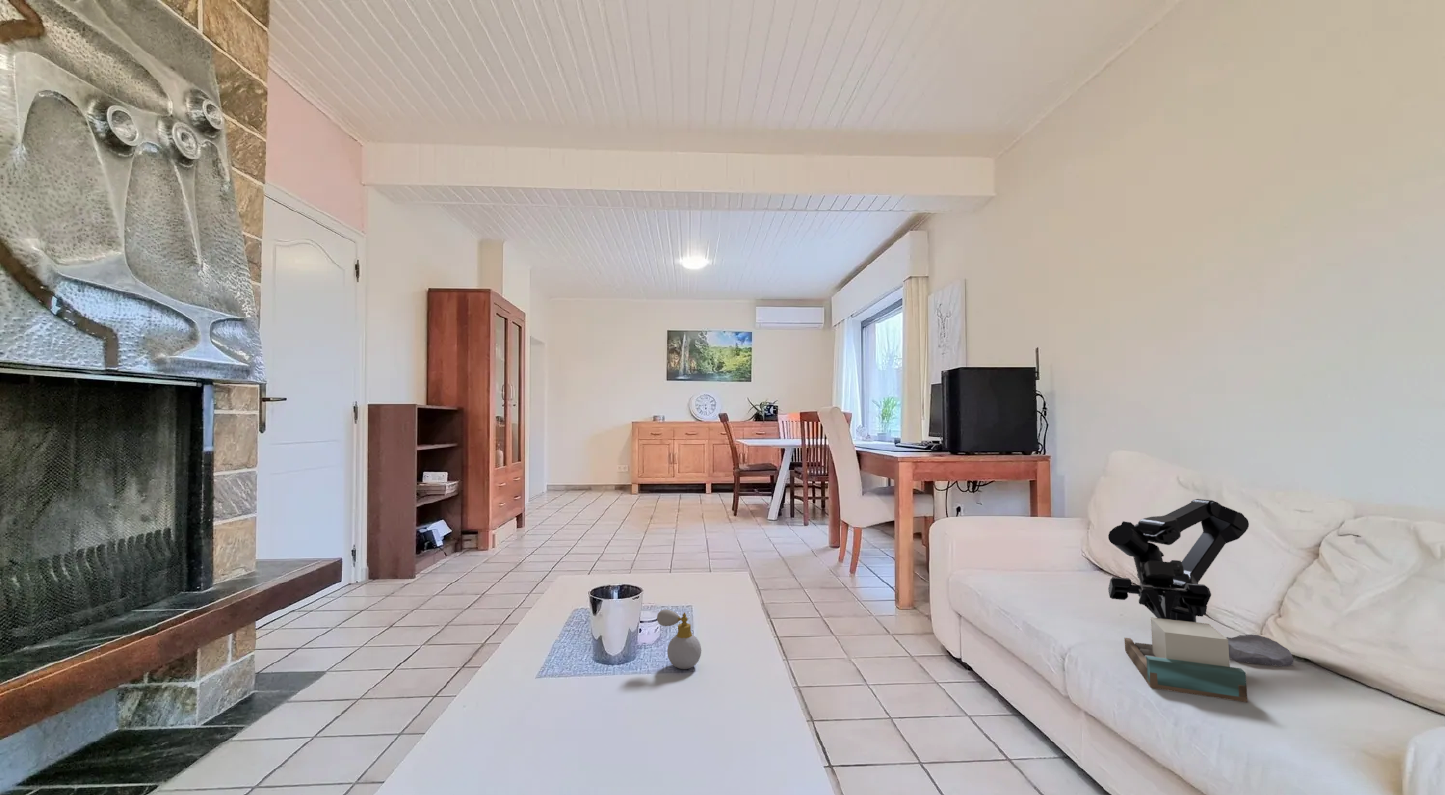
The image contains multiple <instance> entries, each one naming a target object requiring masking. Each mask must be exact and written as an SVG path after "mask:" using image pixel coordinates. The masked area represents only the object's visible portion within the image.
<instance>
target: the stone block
mask: <svg viewBox="0 0 1445 795" xmlns="http://www.w3.org/2000/svg"><path fill="white" fill-rule="evenodd" d="M1225 637H1226V636H1225ZM1226 638H1227V639H1228V646H1229V660H1230V659H1231V660H1233V661H1234V660H1235V662H1239V661H1240V662H1241V663H1247V662H1249V663H1248V664H1257V663H1259V664H1258V665H1267V666H1274V665H1277V666H1276V667H1288V666H1289V667H1290V666H1293V665H1294V658H1293V654H1292V652H1291V651H1290V650H1289V649H1288V648H1287V647H1285V646H1283V645H1282V644H1280V643H1279V642H1278V641H1275V640H1273V639H1271V638H1269V637H1267V636H1263V635H1259V634H1243V635H1241V634H1239V635H1237V636H1234V637H1228V636H1227V637H1226ZM1240 662H1239V663H1240Z"/></svg>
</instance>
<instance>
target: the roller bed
mask: <svg viewBox="0 0 1445 795" xmlns="http://www.w3.org/2000/svg"><path fill="white" fill-rule="evenodd" d="M1124 650H1125V653H1126V655H1128V657H1129V659H1130V660H1131V661H1132V664H1134V666H1135V668H1137V670H1138V671H1139V673H1140V675H1141V676H1142V677H1143V679H1144V680H1145V682H1146V684H1148V686H1149V687H1150V689H1158V690H1163V691H1169V692H1170V691H1171V692H1176V693H1177V692H1178V693H1183V694H1190V695H1196V696H1197V695H1198V696H1203V697H1211V698H1216V699H1225V700H1229V701H1230V700H1231V701H1237V702H1243V703H1248V690H1247V689H1248V688H1247V674H1246V671H1245V670H1243V669H1242V668H1241V667H1233V666H1230V667H1227V666H1219V665H1211V664H1204V663H1196V662H1189V661H1181V660H1173V659H1166V658H1158V657H1156V656H1155V655H1154V654H1153V649H1152V643H1151V644H1149V643H1142V642H1134V641H1133V640H1132V638H1131V637H1124Z"/></svg>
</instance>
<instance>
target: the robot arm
mask: <svg viewBox="0 0 1445 795" xmlns="http://www.w3.org/2000/svg"><path fill="white" fill-rule="evenodd" d="M1199 523H1200V524H1201V528H1202V533H1201V534H1200V536H1199V537H1198V538H1197V540H1196V541H1195V543H1194V544H1193V545H1192V547H1191V548H1190V550H1189V551H1188V552H1187V554H1186V555H1185V556H1184V558H1183V559H1182V560H1176V559H1173V560H1171V561H1164V560H1163V557H1164V556H1165V554H1164V553H1163V552H1162V551H1161V550H1160V547H1159V546H1158V545H1156V544H1159V545H1160V544H1161V545H1166V546H1171V545H1173V544H1174V543H1176V542H1177V541H1178V540H1179V539H1180V538H1181V536H1182V535H1181V533H1182V532H1183V531H1184V530H1187V529H1189V528H1190V527H1192V526H1195V525H1196V524H1199ZM1249 526H1250V521H1249V519H1248V518H1247V517H1245V515H1244V514H1243V513H1242V512H1240V511H1236V510H1235V509H1232V508H1229V507H1227V506H1224V505H1222V504H1220V503H1219V502H1218V501H1215V500H1211V499H1201V498H1196V499H1192V500H1191V501H1190V502H1189V503H1187V504H1186V505H1184V506H1181V507H1179V508H1177V509H1175V510H1173V511H1171V512H1169V513H1167V514H1164V515H1159V516H1149V517H1144V518H1141V519H1140V520H1139V521H1138V522H1137V523H1136V524H1134V523H1132V522H1130V521H1124V520H1122V522H1121V524H1119V525H1117V526H1115V527H1113V528H1112V529H1111V530H1110V531H1109V532H1108V540H1109V542H1110V544H1112V545H1113V546H1115V547H1116V548H1117V549H1119V550H1120V551H1121V552H1122V553H1124V555H1127V556H1129V557H1133V561H1134V565H1135V567H1136V577H1137V579H1138V581H1139V585H1138V584H1133V583H1132V580H1131V579H1130V578H1129V577H1127V578H1126V577H1116V576H1112V577H1111V578H1110V580H1109V584H1108V589H1107V590H1108V595H1109V598H1110V599H1112V600H1119V601H1125V600H1127V599H1128V598H1129V594H1133V595H1134V594H1135V595H1137V596H1138V597H1139V599H1138V604H1139V605H1143V606H1144V607H1145V608H1146V609H1147V610H1149V611H1150V612H1151V613H1152V614H1153V615H1154V616H1155V618H1160V619H1170V620H1179V621H1188V622H1197V617H1200V618H1201V617H1204V615H1205V616H1206V614H1207V608H1208V606H1207V605H1208V604H1209V601H1210V599H1211V596H1212V593H1211V589H1210V588H1209V587H1208V586H1207V585H1205V584H1202V583H1201V584H1199V583H1200V581H1201V579H1202V578H1203V576H1204V575H1205V574H1206V572H1207V571H1208V569H1209V568H1210V566H1211V565H1212V564H1213V562H1214V561H1215V560H1216V558H1217V557H1218V555H1219V553H1221V551H1222V549H1223V548H1224V547H1225V545H1226V544H1229V543H1231V542H1234V541H1237V540H1239V539H1240V538H1241V537H1242V536H1243V535H1244V534H1245V533H1246V532H1247V530H1248V529H1249Z"/></svg>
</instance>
